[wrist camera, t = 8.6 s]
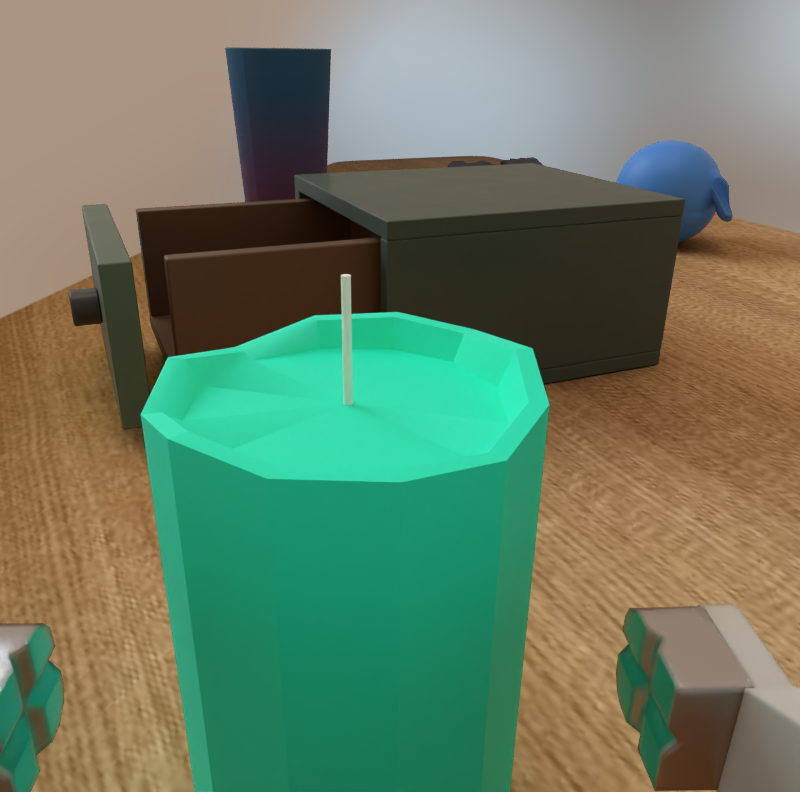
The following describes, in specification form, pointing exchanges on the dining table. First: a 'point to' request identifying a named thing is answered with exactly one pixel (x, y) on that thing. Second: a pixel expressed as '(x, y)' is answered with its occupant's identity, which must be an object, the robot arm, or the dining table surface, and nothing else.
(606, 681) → the dining table surface
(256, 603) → the candle
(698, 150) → the blue mole toy
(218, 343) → the drawer
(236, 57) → the cup
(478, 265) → the cabinet
